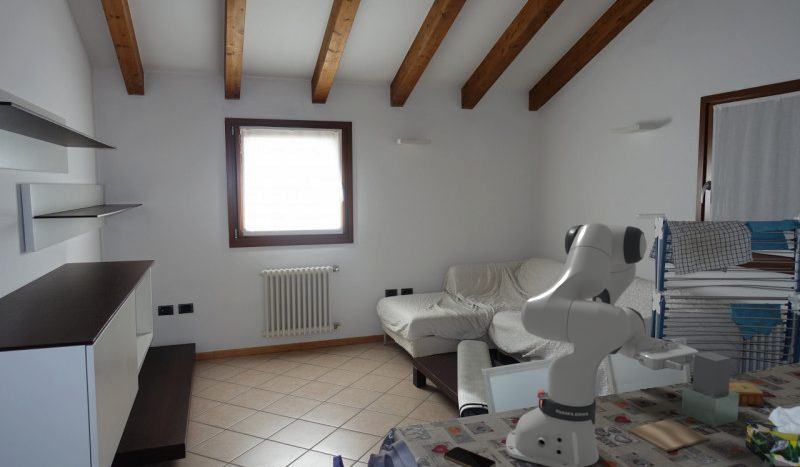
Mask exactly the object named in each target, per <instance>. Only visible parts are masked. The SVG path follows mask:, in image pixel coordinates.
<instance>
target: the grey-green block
mask: <svg viewBox="0 0 800 467" xmlns="http://www.w3.org/2000/svg"><path fill="white" fill-rule="evenodd" d="M739 404H740V403H739V393H736V392H734V391H731V390H729V392H728V393H724V394H719V395H715V396H713V395H710V394H708V393H705V392H703V391H700V390H697V389H695V388H693V383H692V384H687V385H683V386H682V400H681V414H684V415H686V416H688V417H690V418H693V419H694V420H697V421H700V422H702V423H703V424H706V425H708V426H710V427H713V428H716V427H719V426H723V425H726V424H731V423H735V422H737V421H738V416H739Z"/></svg>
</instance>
